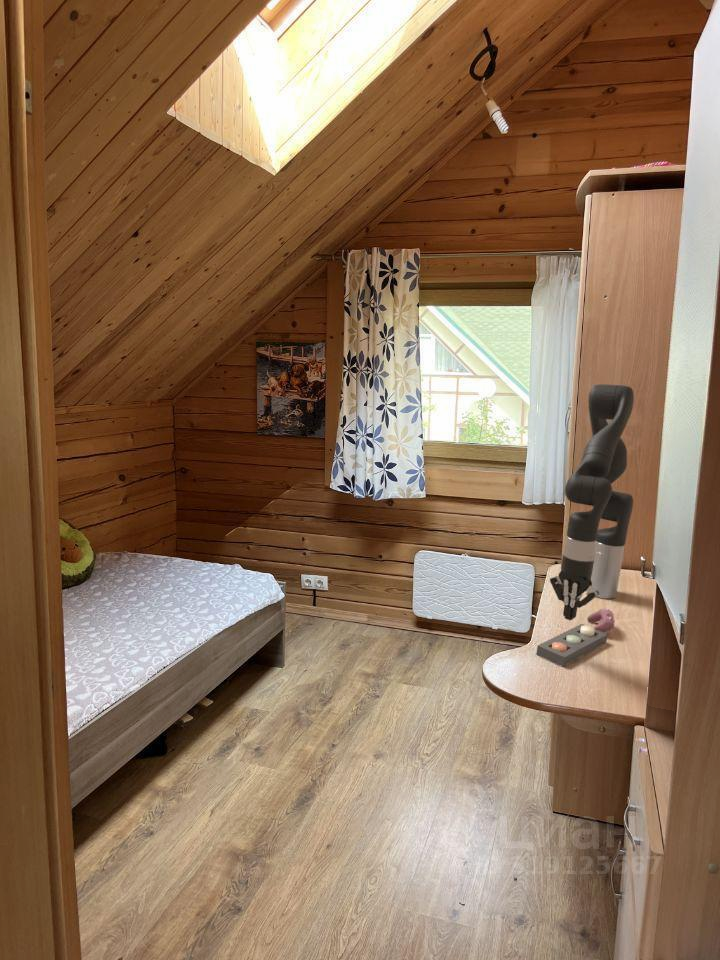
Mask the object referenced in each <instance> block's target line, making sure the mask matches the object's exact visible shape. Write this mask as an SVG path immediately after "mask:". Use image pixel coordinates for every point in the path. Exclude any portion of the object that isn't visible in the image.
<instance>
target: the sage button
mask: <svg viewBox="0 0 720 960" xmlns="http://www.w3.org/2000/svg"><path fill="white" fill-rule="evenodd" d="M566 641H569V642H571V643H574V644H576V645H578V644H579V643H581V638H579V637H578V636H575V635H568V636H567V638H566Z"/></svg>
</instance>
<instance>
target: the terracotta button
mask: <svg viewBox="0 0 720 960" xmlns="http://www.w3.org/2000/svg"><path fill="white" fill-rule="evenodd" d="M552 648H553V649H556V650H558V651H560V652H564V651H566V650H567V646H566V645H565V644H563V643H560V642H554V643H552Z"/></svg>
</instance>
